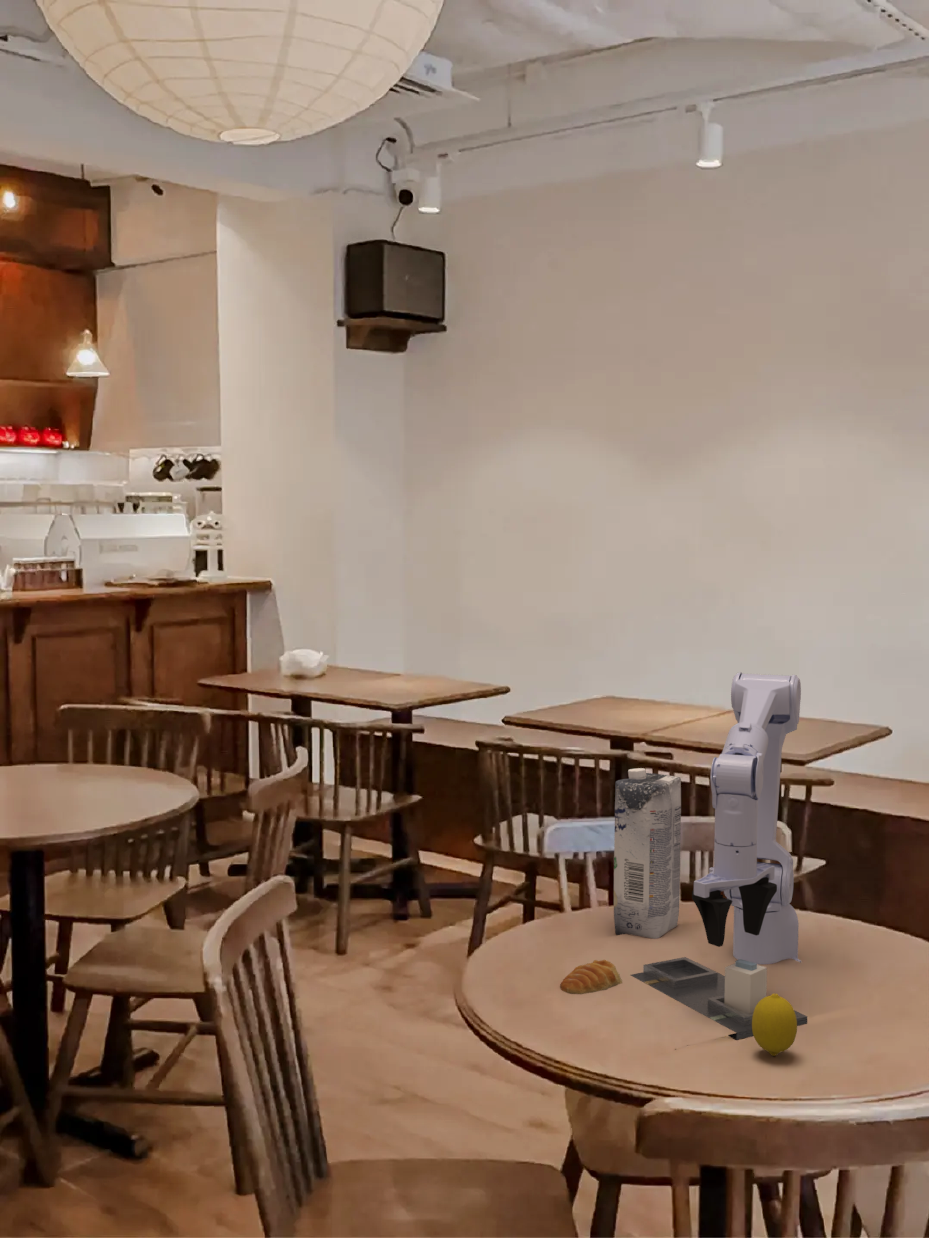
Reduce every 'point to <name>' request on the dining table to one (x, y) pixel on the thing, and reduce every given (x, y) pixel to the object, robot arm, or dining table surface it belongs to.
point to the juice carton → (647, 853)
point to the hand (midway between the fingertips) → (733, 938)
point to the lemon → (774, 1024)
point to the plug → (745, 985)
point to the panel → (700, 992)
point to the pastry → (591, 978)
